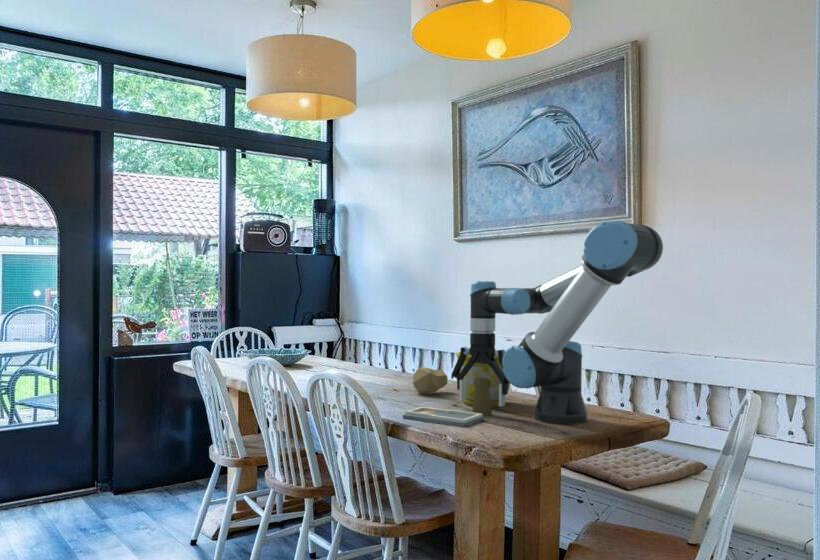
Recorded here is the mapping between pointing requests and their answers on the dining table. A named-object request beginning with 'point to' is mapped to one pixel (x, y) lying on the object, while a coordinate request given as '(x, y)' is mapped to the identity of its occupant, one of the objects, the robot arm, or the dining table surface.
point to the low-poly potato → (429, 380)
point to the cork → (482, 396)
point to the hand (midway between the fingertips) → (481, 403)
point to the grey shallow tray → (443, 416)
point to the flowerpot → (486, 372)
